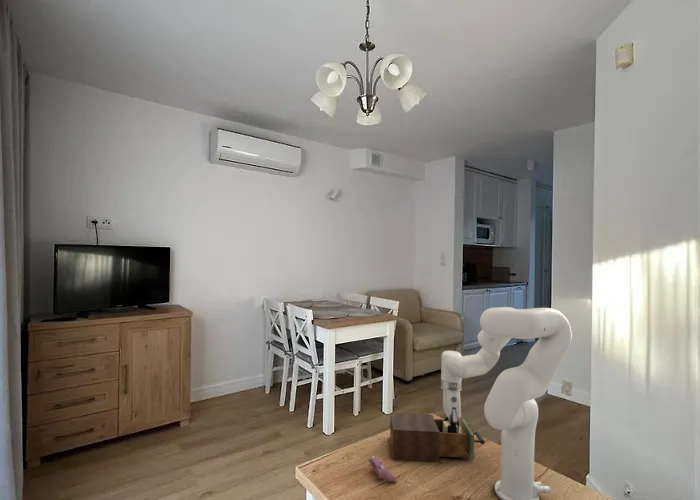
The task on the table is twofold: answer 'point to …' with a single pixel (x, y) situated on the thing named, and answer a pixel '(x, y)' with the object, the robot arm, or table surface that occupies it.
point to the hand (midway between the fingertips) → (450, 432)
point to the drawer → (457, 441)
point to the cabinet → (414, 437)
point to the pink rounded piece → (380, 469)
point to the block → (446, 427)
